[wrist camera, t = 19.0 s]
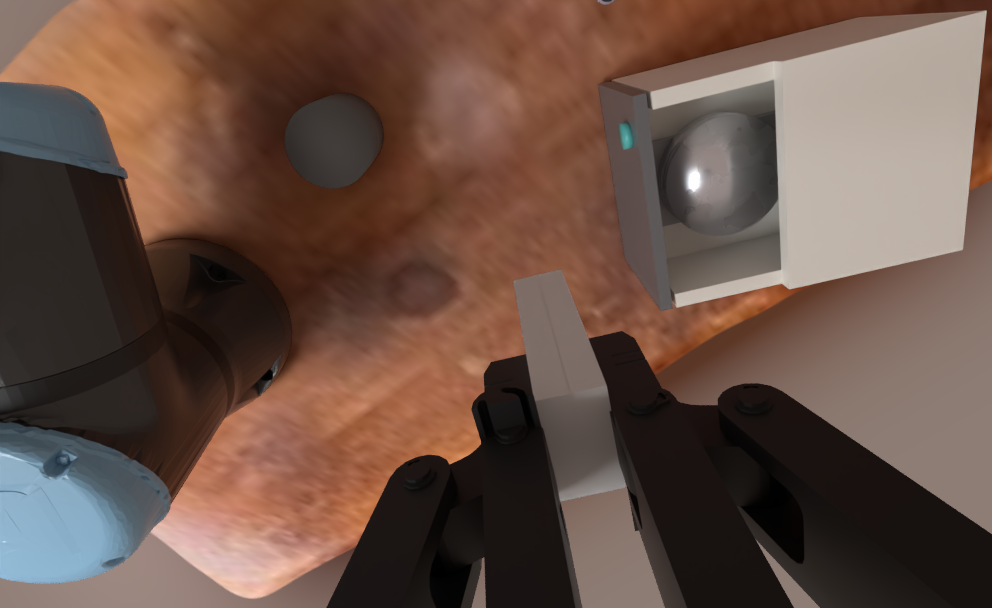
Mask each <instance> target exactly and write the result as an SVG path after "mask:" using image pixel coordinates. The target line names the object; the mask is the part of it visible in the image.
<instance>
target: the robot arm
mask: <svg viewBox="0 0 992 608" xmlns="http://www.w3.org/2000/svg"><path fill="white" fill-rule="evenodd" d="M127 178H128V175H127V172H126V170H125V169H124V168H122V167H121V166H120V165H119V162H118V159H117V156H116V153H115V150H114V148H113V145H112V142H111V139H110V136H109V133H108V131H107V128H106V125H105V122H104V119H103V117H102V115H101V113H100V111H99V110H98V108H97V107H96V106H95V105H94V104H93V103H92V102H91V101H90V100H89V99H88V98H86V97H85V96H83V95H81V94H80V93H78V92H76V91H74V90H71V89H69V88H65V87H61V86H53V85H43V84H29V83H13V82H0V578H2V579H7V580H13V581H20V582H28V583H64V582H72V581H78V580H82V579H86V578H90V577H93V576H97V575H99V574H102V573H104V572H107V571H109V570H111V569H112V568H114V567H116V566H118V565H119V564H121V563H123V562H124V561H125V560H126V559H127V558H129V557H130V556H131V555H132V554H133V553H134V552H135V551H136V550H137V549H138V547H139V546H140V545H141V544H142V542H143V541H144V540H145V538H146V537H147V535H148V534H149V533H150V532H151V530H152V529H153V528H154V526H156V525H157V524H158V523H159V522H160V521H162V520H163V519H164V518H165V517H166V515H167V513H168V512H169V510H170V505H171V503H172V502H173V500H174V498H175V497H176V495H177V494H178V492H179V490H180V489H181V487H182V486H183V484H184V482H185V481H186V479H187V478H188V476H189V474H190V473H191V471H192V469H193V468H194V466H195V465H196V463H197V461H198V460H199V458H200V457H201V455H202V453H203V452H204V450H205V449H206V447H207V445H208V444H209V442H210V441H211V439H212V437H213V436H214V434H215V432H216V431H217V429H218V428H219V426H220V425H221V423H222V421H223V420H224V418H226V417H227V416H229V415H231V414H232V413H234V412H236V411H237V410H239V409H240V408H242V407H244V406H245V405H247V404H249V403H250V402H252V401H253V400H255V399H256V398H258V397H259V396H260V395H261V394H263V393H264V392H265V391H266V390H267V389H268V388H269V387H270V386H271V384H272V383H273V382H274V380H275V379H276V377H277V376H278V374H279V372H280V371H281V369H282V367H283V365H284V363H285V362H286V359H287V357H288V354H289V351H290V347H291V340H292V328H291V321H290V316H289V313H288V310H287V307H286V304H285V302H284V300H283V298H282V296H281V294H280V293H279V291H278V290H277V288H276V287H275V285H274V284H273V283H272V281H271V280H270V279H269V278H268V277H267V276H266V275H265V274H264V273H263V272H262V271H261V270H260V269H259V268H258V267H257V266H255V265H254V264H253V263H252V262H250V261H249V260H247V259H246V258H244V257H243V256H241V255H239V254H238V253H236V252H234V251H232V250H229V249H227V248H225V247H222V246H219V245H217V244H213V243H210V242H205V241H200V240H193V239H172V240H165V241H160V242H156V243H153V244H150V245H147V246H144V243H143V240H142V236H141V233H140V229H139V226H138V222H137V219H136V216H135V212H134V209H133V205H132V202H131V198H130V195H129V192H128V188H127V185H126V181H125V179H127ZM513 282H514V288H515V294H516V300H517V305H518V311H519V317H520V322H521V328H522V334H523V340H524V345H525V351H526V354H525V355H521V356H516V357H512V358H508V359H503V360H499V361H494V362H491V363H490V365H489V367H488V368H487V370H486V371H485V373H484V386H485V388H484V389H485V392H484V393H482V394H480V395H479V396H478V397H477V399H476V400H475V401H474V402H473V406H472V413H473V416H474V419H475V423H476V426H477V429H478V432H479V436H480V439H481V445H480V446H479V447H478V448H477V449H476V450H475V451H474V452H473V453H471V454H470V455H468V456H466V457H465V458H463V459H461V460H459V461H457V462H454V463H452V464H450V465H449V463H448V461H447V460H446V459H444V458H442V457H440V456H436V455H425V456H420V457H416V458H414V459H412V460H409V461H407V462H405V463H404V464H403V465H401V466H400V467H399V468H397V469H396V470H395V472H394V473H393V474H392V476H391V477H390V479H389V481H388V483H387V485H386V487H385V489H384V491H383V493H382V495H381V497H380V499H379V501H378V503H377V505H376V507H375V509H374V512H373V514H372V516H371V518H370V520H369V522H368V524H367V526H366V528H365V530H364V532H363V534H362V536H361V538H360V540H359V542H358V544H357V546H356V548H355V551H354V553H353V555H352V556H351V559H350V561H349V563H348V565H347V567H346V569H345V571H344V573H343V575H342V577H341V579H340V581H339V583H338V585H337V587H336V589H335V591H334V593H333V595H332V597H331V599H330V601H329V604H328V606H327V608H471V607H472V603H473V599H474V595H475V591H476V587H477V583H478V579H479V575H480V571H481V562H482V558H483V557H485V589H486V608H582V604H581V600H580V594H579V589H578V584H577V579H576V574H575V569H574V564H573V560H572V554H571V549H570V544H569V539H568V534H567V529H566V524H565V519H564V515H563V511H562V507H561V503H560V501H563V500H569V499H573V498H578V497H583V496H587V495H592V494H597V493H602V492H606V491H611V490H616V489H620V488H625V482H626V485H627V489H628V494H629V500H630V505H631V511H632V516H633V521H634V526H635V531H638V530H639V532H640V534H641V538H642V541H643V543H644V546H645V549H646V552H647V555H648V558H649V561H650V564H651V567H652V570H653V573H654V576H655V579H656V582H657V585H658V588H659V591H660V594H661V597H662V600H663V603H664V606H665V608H794V607H793V605H792V604H791V602H790V600H789V598H788V596H787V595H786V593H785V591H784V590H783V588H782V586H781V584H780V582H779V581H778V579H777V577H776V575H775V573H774V572H773V570H772V568H771V566H770V564H769V563H768V561H767V559H766V558H765V556H764V554H763V552H762V550H761V549H760V547H759V545H758V543H757V541H758V542H759V543H760V544H761V545H762V546H763V547H764V548H765V549H766V551H767V552H768V553H769V554H770V555H771V556H772V557H773V558H774V559H775V560H776V561H777V562H778V563H779V564H780V565H781V566H782V568H783V569H784V570H785V571H786V572H787V573H788V574H789V575H790V576H791V577H792V578H793V579H794V580H795V581H796V582H797V583H798V584H799V586H800V587H801V588H802V589H803V590H804V591H805V592H806V593H807V594H808V595H809V596H810V597H811V598H812V599H813V600H814V601H815V603H816V604H817V605H818V606H819V607H820V608H992V534H991V533H989V532H988V531H986V530H985V529H983V528H982V527H980V526H979V525H978V524H976V523H975V522H973V521H972V520H970V519H969V518H967V517H966V516H964V515H963V514H961V513H960V512H958V511H957V510H956V509H954V508H952V507H951V506H950V505H948V504H946V503H945V502H944V501H942V500H941V499H939V498H938V497H936V496H935V495H934V494H932V493H930V492H929V491H927V490H926V489H925V488H923V487H922V486H920V485H919V484H917V483H916V482H914V481H913V480H911V479H910V478H909V477H907V476H906V475H904V474H903V473H901V472H900V471H898V470H897V469H895V468H894V467H892V466H891V465H890V464H888V463H887V462H885V461H884V460H882V459H881V458H879V457H878V456H876V455H875V454H873V453H872V452H870V451H869V450H868V449H866V448H865V447H863V446H862V445H860V444H859V443H857V442H856V441H854V440H853V439H851V438H850V437H848V436H847V435H846V434H844V433H843V432H841V431H840V430H838V429H837V428H835V427H834V426H832V425H831V424H829V423H828V422H827V421H825V420H824V419H822V418H821V417H819V416H818V415H816V414H815V413H813V412H812V411H810V410H809V409H807V408H806V407H804V406H803V405H802V404H800V403H799V402H797V401H796V400H794V399H793V398H791V397H790V396H788V395H787V394H785V393H784V392H782V391H780V390H778V389H776V388H774V387H772V386H768V385H763V384H741V385H737V386H733V387H731V388H729V389H727V390H726V391H724V392H722V394H721V395H720V397H719V398H718V405H706V406H705V405H689V404H684V403H680V402H678V401H677V400H676V398H675V397H674V396H673V395H672V394H671V393H670V392H669V391H667V390H665V389H662V388H661V386H660V384H659V382H658V380H657V379H656V377H655V375H654V373H653V371H652V369H651V368H650V366H649V364H648V362H647V360H646V359H645V357H644V355H643V353H642V351H641V349H640V347H639V346H638V344H637V342H636V340H635V338H633V337H631V336H629V335H628V334H626V333H624V332H622V331H620V332H616V333H611V334H607V335H603V336H598V337H594V338H589V339H588V336H587V334H586V331H585V329H584V326H583V324H582V321H581V318H580V316H579V313H578V311H577V308H576V306H575V303H574V301H573V298H572V295H571V293H570V290H569V288H568V285H567V283H566V280H565V278H564V275H563V272H562V270H561V269H560V270H556V271H552V272H547V273H543V274H539V275H535V276H530V277H526V278H522V279H518V280H513ZM624 479H625V481H624ZM755 539H756V540H757V541H756V540H755Z"/></svg>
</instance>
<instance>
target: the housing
mask: <svg viewBox="0 0 992 608" xmlns="http://www.w3.org/2000/svg"><path fill="white" fill-rule="evenodd" d="M986 13H987V10H985V11H966V12H947V13H928V14H909V15H890V16H872V17H857V18H853V19H850V20H846V21H842V22H838V23H834V24H830V25H826V26H822V27H818V28H814V29H810V30H806V31H802V32H798V33H794V34H790V35H786V36H782V37H779V38H775V39H771V40H767V41H763V42H759V43H755V44H751V45H747V46H743V47H739V48H735V49H731V50H727V51H723V52H719V53H715V54H711V55H708V56H704V57H700V58H696V59H692V60H688V61H684V62H680V63H676V64H672V65H668V66H664V67H660V68H656V69H652V70H648V71H644V72H640V73H636V74H633V75H629V76H625V77H621V78H617V79H613V80H611V82H612V83H616V84H619V85H622V86H625V87H628V88H631V89H635V90H638V91H641V92H644V93H646V97H647V105H648V113H649V121H650V129H651V137H652V141H653V140H657V139H661V138H665V137H669V136H673V135H676V134H677V133H678V132H679V131H680V130H681V129H682V128H683V127H684V126H686V125H687V124H688V123H690V122H691V121H693V120H695V119H696V118H699V117H701V116H703V115H706V114H709V113H713V112H719V111H730V112H737V113H741V114H744V115H748V116H754V115H758V114H763V113H767V112H771V111H775V115H776V142H777V169H778V196H779V199H778V200H777V202H776V203H775V205H774V206H773V207H772V209H771V210H770V211H769V212H768V213H767V214H766V215H765V216H764V217H763V218H762V219H761V220H760V221H758V222H757V223H755V224H754V225H752V226H751V227H749V228H747V229H745V230H743V231H740V232H738V233H734V234H731V235H725V236H709V235H704V234H700V233H698V232H695V231H693V230H691V229H690V228H688V227H687V226H685V225H684V224H683V223H682V222H680V223H676V224H672V225H668V226H663V234H664V243H665V251H666V259H667V267H668V275H669V283H670V291H671V299H672V302H673V303H674V304H675V306H676V307H681V306H686V305H690V304H694V303H699V302H703V301H707V300H712V299H716V298H721V297H725V296H729V295H734V294H738V293H742V292H747V291H751V290H756V289H760V288H764V287H769V286H773V285H778V284H783V285H784V286H786V287H787V288H788V289H793V288H798V287H802V286H806V285H811V284H815V283H820V282H824V281H828V280H833V279H837V278H842V277H846V276H850V275H855V274H859V273H863V272H868V271H872V270H877V269H881V268H885V267H890V266H894V265H899V264H903V263H907V262H912V261H916V260H921V259H925V258H929V257H934V256H938V255H943V254H947V253H951V252H956V251H960V250H963V242H964V233H965V223H966V211H967V202H968V193H969V183H970V173H971V163H972V153H973V143H974V133H975V123H976V113H977V103H978V93H979V83H980V73H981V63H982V53H983V43H984V33H985V23H986Z"/></svg>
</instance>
